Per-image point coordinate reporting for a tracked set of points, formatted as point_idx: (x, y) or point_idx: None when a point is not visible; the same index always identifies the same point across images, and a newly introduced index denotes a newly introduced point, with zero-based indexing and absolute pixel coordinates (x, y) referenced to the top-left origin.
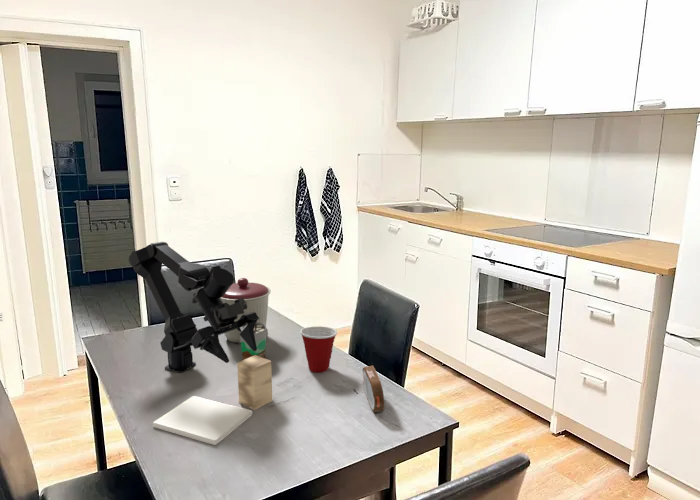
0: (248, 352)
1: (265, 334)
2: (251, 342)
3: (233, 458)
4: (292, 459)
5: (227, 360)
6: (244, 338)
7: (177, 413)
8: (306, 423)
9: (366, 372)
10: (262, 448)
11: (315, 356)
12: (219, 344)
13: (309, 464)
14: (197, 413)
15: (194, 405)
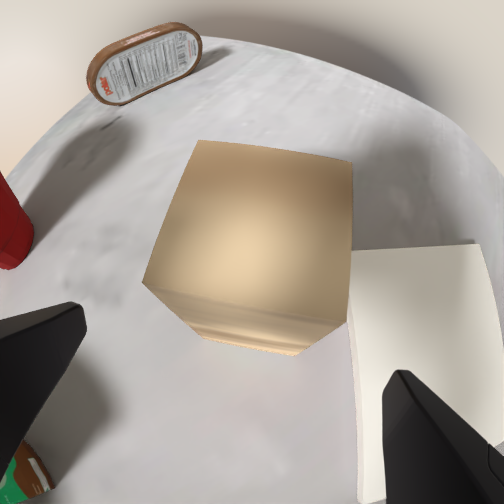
0: (15, 474)
1: None
2: (29, 352)
3: (463, 193)
4: (392, 114)
5: (412, 376)
6: (2, 452)
7: None
8: (286, 129)
9: (133, 42)
10: (413, 162)
11: (7, 201)
12: (499, 497)
13: (381, 95)
14: (445, 392)
15: None
